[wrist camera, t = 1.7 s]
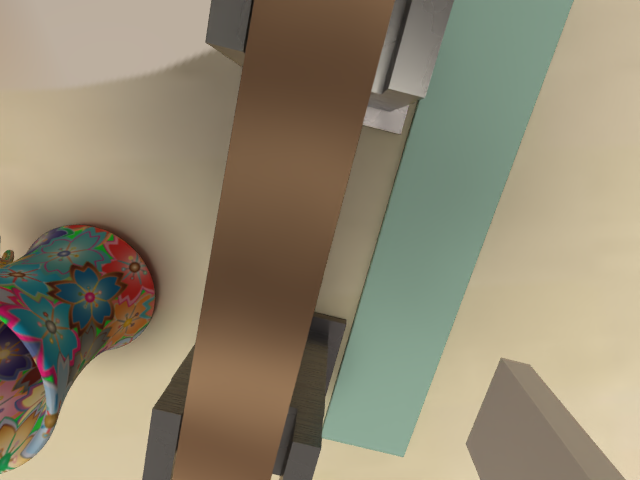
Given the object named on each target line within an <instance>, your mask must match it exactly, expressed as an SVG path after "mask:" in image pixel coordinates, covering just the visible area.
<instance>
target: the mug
mask: <svg viewBox="0 0 640 480" xmlns="http://www.w3.org/2000/svg"><path fill="white" fill-rule="evenodd" d="M13 260H14V252H13V251H12V250H7V251H6V252H5V253H4V254H3V256H2V258H0V474H1V473H5V472H7V471H10V470H13V469H15V468H17V467H19V466H21V465H23V464H24V463H26V462H27V461H29V460H30V459H31V458H33V457H34V456H35V455H36V454H37V453H38V452H39V451H40V450H41V449H42V448H43V447H44V445H45V444H46V442H47V441H48V440H49V438H50V436H51V434H52V432H53V430H54V428H55V425H56V422H57V419H58V416H59V413H60V409H61V407H62V404H63V402H64V399H65V397H66V395H67V393H68V391H69V389H70V387H71V386H72V384H73V382H74V381H75V379H76V378H77V376H78V375H79V374H80V372H81V371H82V370H83V369H84V367H85V366H86V365H87V364H88V363H89V362H90V361H91V360H92V359H94V358H95V357H96V356H97V355H99V354H100V353H102V352H104V351H106V350H111V349H115V348H119V347H121V346H124V345H126V344H128V343H130V342H131V341H133V340H134V339H136V338H137V337H138V336H139V335H140V334H141V333H142V332H143V331H144V329H145V328H146V326H147V325H148V323H149V321H150V319H151V316H152V313H153V310H154V304H155V291H154V285H153V281H152V278H151V275H150V273H149V270H148V268H147V266H146V265H145V263H144V261H143V260H142V259H141V257H140V256H139V255H138V253H137V252H136V251H135V250H134V249H133V248H132V247H131V246H130V245H129V244H127V243H126V242H125V241H124V240H122V239H121V238H119V237H118V236H116V235H114V234H112V233H110V232H108V231H106V230H103V229H100V228H97V227H92V226H86V225H69V226H63V227H59V228H56V229H53V230H51V231H49V232H47V233H45V234H44V235H42V236H41V237H40V238H38V239H37V240H36V241H35V242H34V243H33V244H32V246H31V247H30V248H29V250H28V251H27V253H26V254H25V255H24V256H23V257H21V258H20V259H18V260H16V261H14V262H13Z"/></svg>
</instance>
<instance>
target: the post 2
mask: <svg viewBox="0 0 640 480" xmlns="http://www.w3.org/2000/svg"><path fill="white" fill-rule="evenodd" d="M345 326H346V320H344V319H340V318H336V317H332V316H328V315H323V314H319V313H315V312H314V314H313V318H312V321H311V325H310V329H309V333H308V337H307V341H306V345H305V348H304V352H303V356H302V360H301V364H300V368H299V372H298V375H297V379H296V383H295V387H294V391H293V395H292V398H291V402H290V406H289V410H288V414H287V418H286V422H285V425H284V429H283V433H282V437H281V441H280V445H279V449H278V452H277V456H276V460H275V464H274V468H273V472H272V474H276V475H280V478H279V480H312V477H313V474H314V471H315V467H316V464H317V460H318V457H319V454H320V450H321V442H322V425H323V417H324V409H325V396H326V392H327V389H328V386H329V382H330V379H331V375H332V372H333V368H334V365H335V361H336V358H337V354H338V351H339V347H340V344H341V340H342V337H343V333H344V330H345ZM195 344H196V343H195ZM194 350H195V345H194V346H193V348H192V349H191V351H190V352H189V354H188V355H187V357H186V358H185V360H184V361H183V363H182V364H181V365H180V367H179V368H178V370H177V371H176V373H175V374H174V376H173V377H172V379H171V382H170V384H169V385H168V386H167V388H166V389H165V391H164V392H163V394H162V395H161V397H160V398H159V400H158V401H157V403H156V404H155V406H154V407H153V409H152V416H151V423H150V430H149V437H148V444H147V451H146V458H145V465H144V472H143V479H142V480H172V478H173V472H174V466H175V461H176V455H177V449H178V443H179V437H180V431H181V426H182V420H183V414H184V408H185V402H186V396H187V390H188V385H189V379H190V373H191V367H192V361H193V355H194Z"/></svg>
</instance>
